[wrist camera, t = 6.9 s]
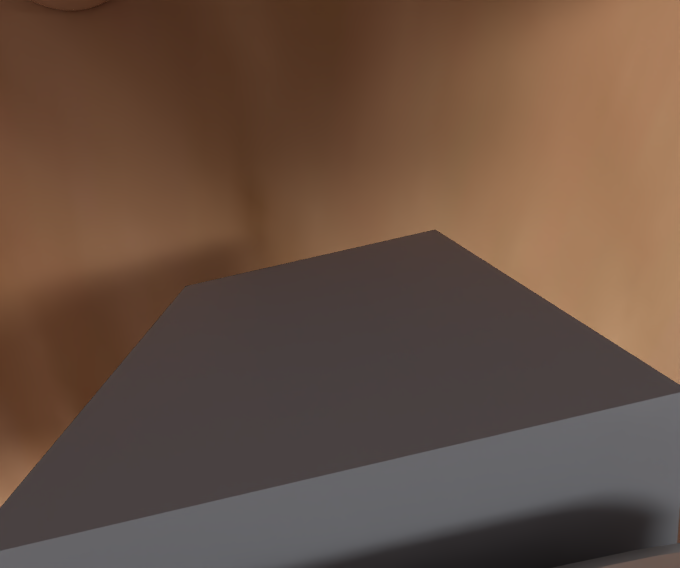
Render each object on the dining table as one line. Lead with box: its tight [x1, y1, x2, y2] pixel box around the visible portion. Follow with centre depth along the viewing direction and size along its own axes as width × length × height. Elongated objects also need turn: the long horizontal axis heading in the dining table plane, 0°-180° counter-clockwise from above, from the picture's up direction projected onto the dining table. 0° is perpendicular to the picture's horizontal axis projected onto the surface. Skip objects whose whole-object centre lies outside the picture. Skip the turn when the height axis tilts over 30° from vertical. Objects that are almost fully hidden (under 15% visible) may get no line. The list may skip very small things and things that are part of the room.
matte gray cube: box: [0, 230, 680, 568], centre depth 10 cm, size 8×8×9 cm
